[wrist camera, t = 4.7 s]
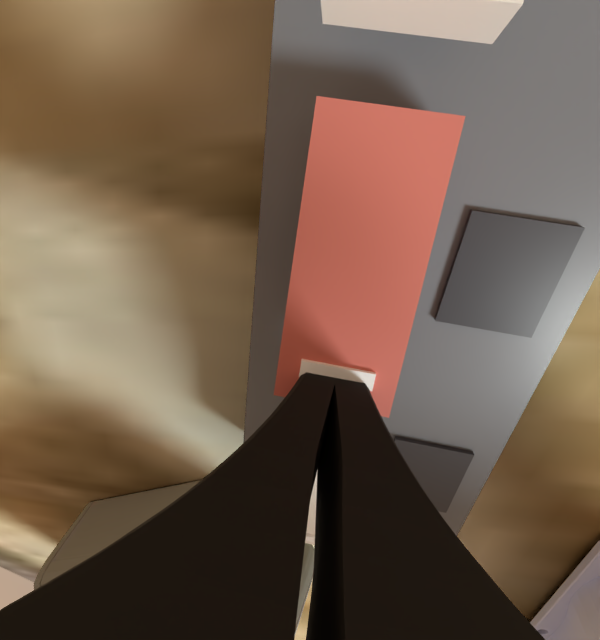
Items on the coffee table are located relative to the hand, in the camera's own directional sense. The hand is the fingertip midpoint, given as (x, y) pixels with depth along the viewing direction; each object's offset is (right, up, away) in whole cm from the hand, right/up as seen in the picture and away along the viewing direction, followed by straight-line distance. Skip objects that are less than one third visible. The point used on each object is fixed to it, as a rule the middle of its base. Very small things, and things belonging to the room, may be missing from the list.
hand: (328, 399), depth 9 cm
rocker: (0, +3, -1) cm, 3 cm away
